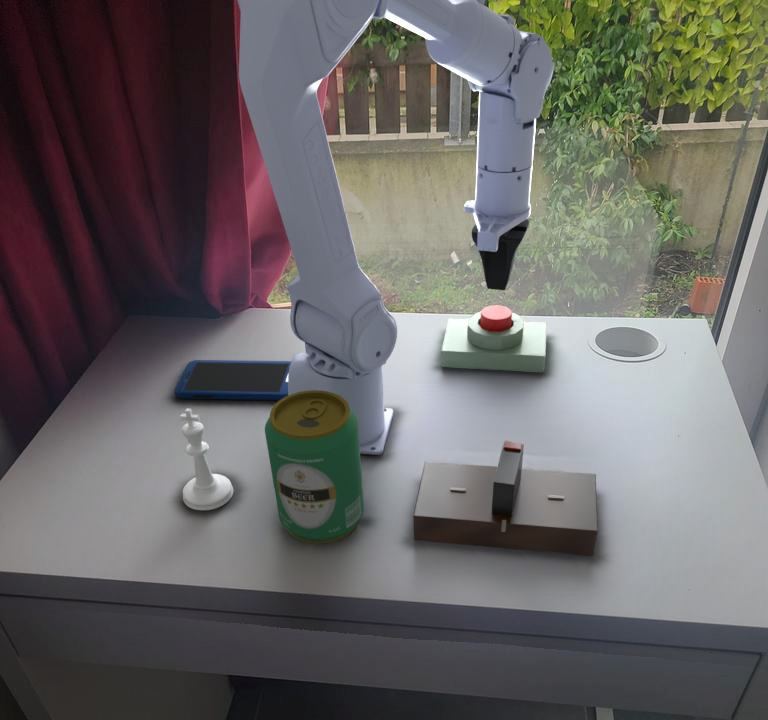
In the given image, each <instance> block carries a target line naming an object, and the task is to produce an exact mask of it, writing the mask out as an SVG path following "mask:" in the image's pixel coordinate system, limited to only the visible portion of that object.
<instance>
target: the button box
mask: <svg viewBox="0 0 768 720" xmlns="http://www.w3.org/2000/svg"><path fill="white" fill-rule="evenodd" d="M480 323H481V311H478V312H475V313H474V314H472V315H471V316H470V317H468V318H455V317H454V318H453V317H452V318H451V317H449V318H448V319H447V324H446V329H445V332H444V337H443V341H442V346H441V350H440V367H441V368H454V369H472V370H473V369H474V370H475V369H476V370H492V371H510V372H531V373H545V365H546V364H545V363H546V353H547V351H546V350H547V331H548V330H547V329H548V323H547V322H543V321H542V322H540V321H525V320H524V319H523V318H522V317H521V316H519V314H517V313H515V312H512V321H511V328H510V329H508V330H505V331H501V332H494V331H487V330H484V329H482V328H481V326H480Z"/></svg>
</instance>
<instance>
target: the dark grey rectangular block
mask: <svg viewBox="0 0 768 720" xmlns="http://www.w3.org/2000/svg"><path fill="white" fill-rule="evenodd" d="M524 448H525V444H524V443H523V442H519V441H512V440H511V441H510V440H504V441H503V443H502V448H501V452H500V456H499V460H498V463H497V464H498V465H497V466H496V467H497V471H496V475H495V478H494V483H493V498H492V514H499V515H506V516H512V513H513V509H514V504H515V500H516V495H517V491H518V486H519V482H520V477H521V470H522V468H523V459H524V458H523V457H524Z"/></svg>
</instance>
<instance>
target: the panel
mask: <svg viewBox="0 0 768 720" xmlns="http://www.w3.org/2000/svg"><path fill="white" fill-rule="evenodd" d="M423 464H424V465H423V469H422V474H421V478H420V483H419V488H418V492H417V496H416V501H415V506H414V511H413V515H412V519H413V520H412V525H413V540H414V541H418V542H419V541H420V542H428V543H429V542H430V543H442V544H454V545H465V546H474V547H475V546H476V547H485V548H486V547H488V548H496V549H497V548H498V549H499V548H500V549H511V550H520V551H521V550H523V551H532V552H533V551H534V552H544V553H555V554H556V553H557V554H566V555H577V556H578V555H579V556H591V557H593V556H594V555H595V550H596V544H597V538H598V533H599V524H598V522H599V521H598V499H597V474H596V473H592V472H591V473H590V472H576V471H562V470H552V469H551V470H549V469H534V468H523V467H522V470H521V477H520V482H519V486H518V491H517V495H516V500H515V504H514V509H513V513H512V516H506V515H499V514H492V498H493V483H494V478H495V475H496V471H497V467H498V466H493V465H482V464H481V465H480V464H469V463H468V464H467V463H451V462H439V461H426V460H425V461H424V463H423Z"/></svg>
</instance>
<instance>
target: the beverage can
mask: <svg viewBox="0 0 768 720" xmlns="http://www.w3.org/2000/svg"><path fill="white" fill-rule="evenodd" d="M264 434H265V441H266V446H267V453H268V459H269V464H270V471H271V477H272V482H273V489H274V495H275V500H276V507H277V513H278V518H279V521H280V523H281V525H282V526H283V527H284V528H285V529H286V531H288V533H289V534H290V535H291V536H292V537H294V538H295V539H297V540H299V541H301V542H305V543H309V544H317V545H318V544H328V543H333V542H337V541H339V540H342V539H344V538H345V537H347V536H348V535H350V534H351V533H352V532H353V531H354V530H355V529H356V528H357V527H358V525H359V522H360V521H361V519H362V517H363V516H364V515H363V514H364V510H365V503H364V502H365V501H364V491H363V489H364V488H363V476H362V475H363V473H362V460H361V454H360V446H359V432H358V421H357V417H356V415H355V413H354V412H353V411H352V410H351V409H350V408H349V405H348V403H347V402H346V400H345V399H343V398H342V397H341V396H339V395H337V394H334V393H331V392H327V391H319V390H309V391H302V392H297V393H294V394H291V395H288V396H286V397H284V398H282V399H281V400H277V402H276V403H275V404H274V405H273V406H272V407H271V408H270V412H269V417H268V418H267V421H266V422H265V425H264Z"/></svg>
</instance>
